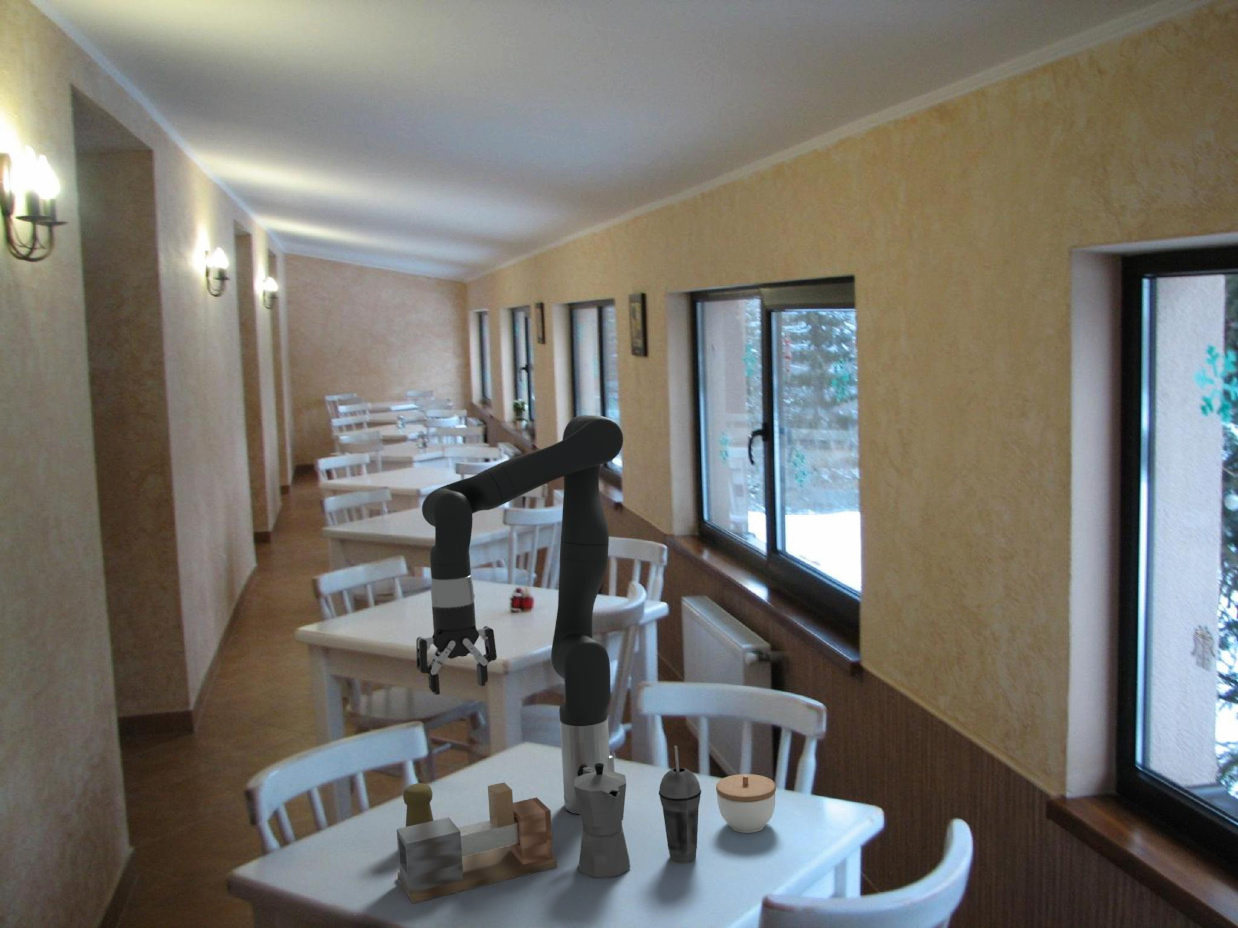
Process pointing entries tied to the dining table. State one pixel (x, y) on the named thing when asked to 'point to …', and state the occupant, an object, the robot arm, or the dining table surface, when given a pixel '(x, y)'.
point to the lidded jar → (746, 801)
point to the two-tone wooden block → (492, 824)
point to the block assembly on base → (442, 870)
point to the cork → (418, 804)
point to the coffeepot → (601, 822)
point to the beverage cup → (680, 812)
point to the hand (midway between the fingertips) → (459, 689)
